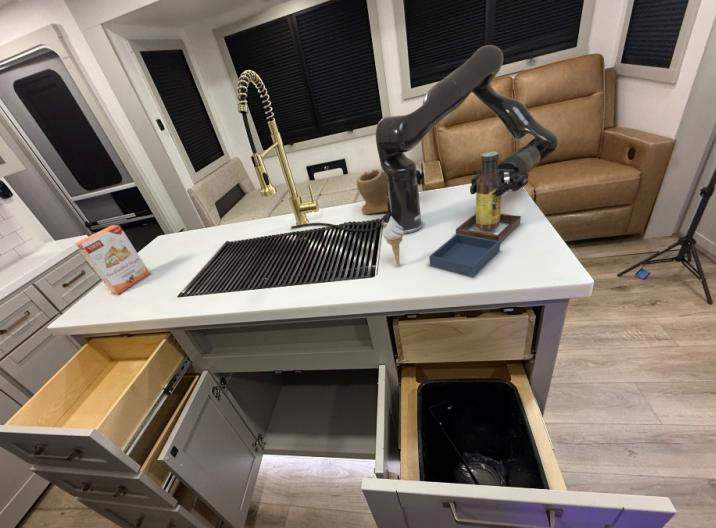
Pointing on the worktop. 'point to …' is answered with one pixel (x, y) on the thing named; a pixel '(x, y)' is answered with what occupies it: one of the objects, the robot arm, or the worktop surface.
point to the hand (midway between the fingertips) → (484, 191)
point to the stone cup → (373, 191)
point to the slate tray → (465, 254)
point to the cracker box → (113, 258)
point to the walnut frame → (504, 218)
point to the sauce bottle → (488, 193)
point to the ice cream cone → (394, 237)
